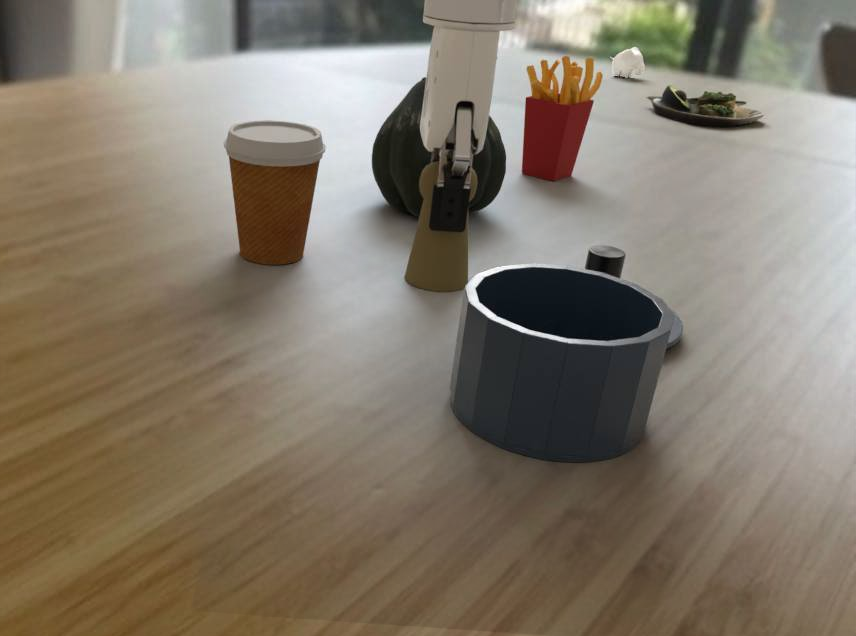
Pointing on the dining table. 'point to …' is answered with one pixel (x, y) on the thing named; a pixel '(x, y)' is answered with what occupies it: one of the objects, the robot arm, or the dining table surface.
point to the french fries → (556, 119)
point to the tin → (558, 360)
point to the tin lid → (612, 264)
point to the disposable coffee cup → (273, 187)
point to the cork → (438, 245)
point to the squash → (427, 158)
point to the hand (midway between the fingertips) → (443, 217)
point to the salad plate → (704, 108)
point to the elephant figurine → (628, 63)
